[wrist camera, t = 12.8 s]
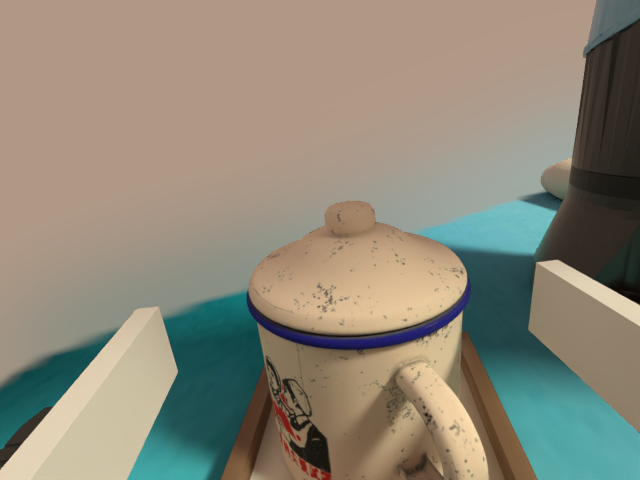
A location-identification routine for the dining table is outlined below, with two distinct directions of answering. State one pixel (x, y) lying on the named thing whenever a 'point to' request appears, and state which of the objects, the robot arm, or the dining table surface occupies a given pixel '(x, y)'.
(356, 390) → the teacup with lid
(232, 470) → the walnut tray
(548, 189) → the ice cream cone
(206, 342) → the dining table surface
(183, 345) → the dining table surface
